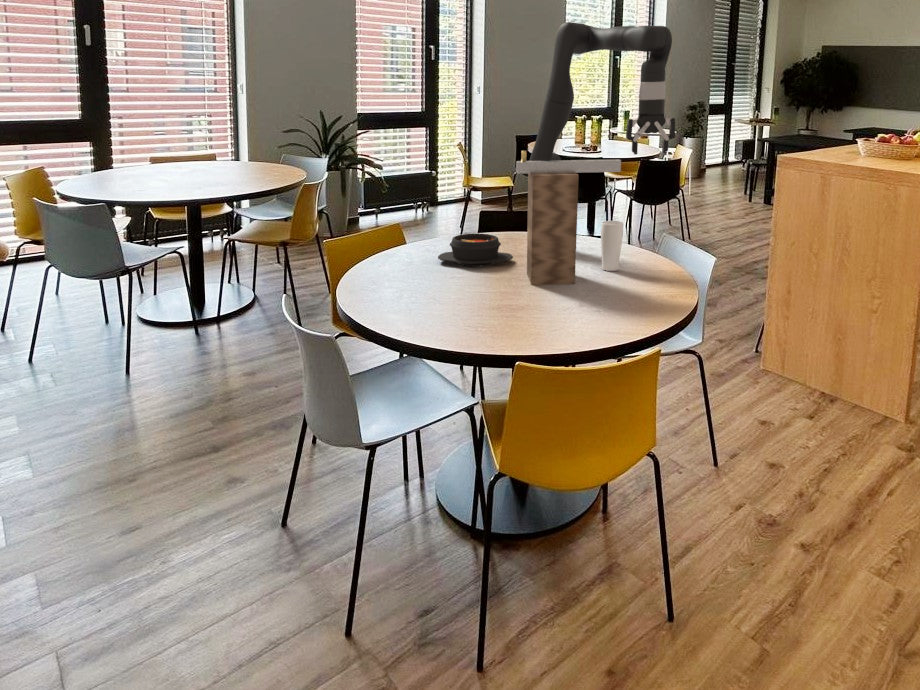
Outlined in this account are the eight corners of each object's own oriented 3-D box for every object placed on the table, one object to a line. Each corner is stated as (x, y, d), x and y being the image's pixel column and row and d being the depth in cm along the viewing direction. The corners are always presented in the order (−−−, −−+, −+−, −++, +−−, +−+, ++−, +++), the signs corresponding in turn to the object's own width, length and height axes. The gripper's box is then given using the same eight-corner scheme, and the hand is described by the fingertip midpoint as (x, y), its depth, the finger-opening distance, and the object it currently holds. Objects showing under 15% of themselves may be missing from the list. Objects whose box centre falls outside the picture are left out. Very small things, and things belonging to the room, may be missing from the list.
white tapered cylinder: (597, 267, 255) (599, 220, 250) (617, 266, 256) (620, 220, 251) (602, 272, 249) (604, 224, 244) (623, 271, 249) (626, 224, 244)
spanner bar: (517, 173, 230) (517, 151, 228) (516, 172, 233) (516, 150, 231) (620, 171, 230) (621, 150, 228) (618, 170, 233) (619, 148, 231)
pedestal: (531, 284, 236) (532, 175, 225) (526, 274, 248) (528, 169, 238) (574, 283, 236) (578, 174, 226) (568, 273, 248) (571, 169, 238)
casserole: (515, 257, 271) (515, 232, 268) (510, 270, 254) (510, 244, 251) (442, 255, 275) (442, 231, 272) (433, 268, 257) (432, 242, 254)
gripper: (629, 99, 232) (628, 155, 238) (679, 97, 232) (676, 154, 237) (625, 98, 240) (624, 153, 245) (673, 96, 239) (670, 152, 244)
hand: (649, 153), depth 241 cm, fingers open, 8 cm apart
